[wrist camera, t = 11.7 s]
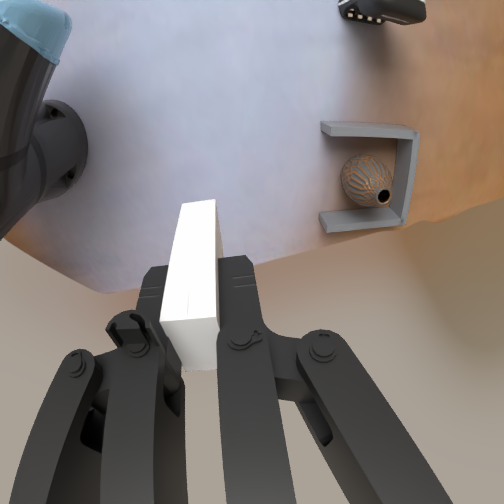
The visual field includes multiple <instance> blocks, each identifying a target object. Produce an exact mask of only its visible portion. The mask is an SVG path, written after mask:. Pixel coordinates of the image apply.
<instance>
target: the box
mask: <svg viewBox="0 0 504 504" xmlns="http://www.w3.org/2000/svg"><path fill="white" fill-rule="evenodd" d="M321 130H322V131H323V132H325V133H326V134H328V135H330V136H357V137H385V138H398V142H397V153H396V162H395V171H394V178H393V187H392V198H391V200H390V205H389V207H382V208H367V209H354V210H342V211H330V212H319V220H320V222H321V224H322V226H323V227H324V229H325V231H326V233H331V232H341V231H350V230H360V229H370V228H380V227H390V226H400V225H405V224H406V220H407V215H408V210H409V205H410V200H411V195H412V189H413V184H414V177H415V171H416V164H417V157H418V148H419V139H420V132H419V131H417V130H414V129H412V128H410V127H407V126H404V125H394V124H381V123H365V122H321Z"/></svg>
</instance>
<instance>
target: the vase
mask: <svg viewBox="0 0 504 504" xmlns="http://www.w3.org/2000/svg"><path fill="white" fill-rule="evenodd" d="M341 181H342V185H343V188H344V190H345V192H346V193H347V195H348V196H349V197H350V198H351V199H352V200H353V201H354V202H356V203H358V204H360V205H362V206H366V207H376V206H379V205H385V204H387V203H389V202H390V200H391V198H392V187H393V181H392V177H391V174H390V172H389V170H388V168H387V167H386V166H385V165H384V164H383V163H382V162H381V161H380V160H378V159H377V158H375V157H372V156H369V155H358V156H355V157H353V158H351V159H349V160H348V161H347V162H346V164H345V165H344V167H343V169H342V174H341Z"/></svg>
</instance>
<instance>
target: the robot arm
mask: <svg viewBox="0 0 504 504" xmlns="http://www.w3.org/2000/svg"><path fill="white" fill-rule="evenodd" d="M71 29H72V21H71V18H70V16H69V15H68V14H67V13H66V12H64V11H62V10H60V9H58V8H56V7H54V6H52V5H49V4H47V3H44V2H42V1H39V0H0V241H1V239H2V238H3V237H4V236H5V235H6V234H7V233H8V232H9V231H10V230H11V228H12V227H13V226H14V225H15V224H16V223H17V222H18V221H19V220H20V219H21V218H22V217H23V216H24V215H25V214H26V213H27V212H28V211H29V210H30V209H31V208H32V207H33V206H34V205H35V204H36V203H39V202H42V201H46V200H49V199H52V198H55V197H58V196H60V195H62V194H63V193H65V192H66V191H67V190H68V189H69V188H70V187H72V186H73V185H74V184H75V183H76V182H77V180H78V179H79V177H80V176H81V174H82V172H83V170H84V167H85V164H86V159H87V137H86V132H85V129H84V126H83V124H82V121H81V120H80V118H79V116H78V115H77V113H76V112H75V111H74V110H73V109H72V108H71V107H70V106H68V105H67V104H65V103H63V102H61V101H57V100H45V101H42V100H43V97H44V94H45V92H46V89H47V87H48V84H49V82H50V79H51V77H52V74H53V72H54V70H55V67H56V65H57V66H58V64H59V62H60V60H59V58H60V55H61V53H62V50H63V48H64V46H65V43H66V41H67V39H68V37H69V35H70V32H71ZM105 330H106V332H107V333H108V334H109V336H110V337H111V339H112V340H113V342H114V343H115V344H116V346H117V347H118V348H117V349H115V350H113V351H110V352H107V353H104V354H101V355H97V356H93V355H92V354H91V353H90V352H89V351H87V350H85V349H77V350H74V351H72V352H71V353H69V354H68V355H67V356H66V357H65V358H64V360H63V361H62V363H61V365H60V367H59V369H58V371H57V373H56V375H55V377H54V379H53V381H52V383H51V385H50V387H49V389H48V392H47V394H46V396H45V398H44V400H43V403H42V405H41V407H40V410H39V412H38V414H37V417H36V419H35V422H34V425H33V427H32V429H31V432H30V435H29V437H28V440H27V443H26V446H25V449H24V452H23V455H22V458H21V461H20V464H19V467H18V470H17V474H16V477H15V481H14V485H13V489H12V493H11V497H10V502H9V504H188V493H187V478H186V452H185V385H184V381H183V379H182V377H181V364H182V366H183V368H184V370H185V371H202V370H217V378H218V399H219V414H220V415H219V416H220V431H221V444H222V458H223V470H224V481H225V491H226V501H227V504H296V498H295V493H294V487H293V481H292V476H291V470H290V465H289V459H288V453H287V447H286V442H285V436H284V431H283V425H282V419H281V414H280V408H279V402H278V399H281V400H288V401H294V402H295V404H296V406H297V407H298V409H299V411H300V413H301V415H302V417H303V419H304V421H305V423H306V425H307V427H308V429H309V431H310V432H311V434H312V436H313V438H314V440H315V442H316V444H317V445H318V447H319V449H320V451H321V453H322V455H323V457H324V458H325V460H326V462H327V464H328V466H329V468H330V469H331V471H332V473H333V475H334V477H335V478H336V480H337V482H338V484H339V486H340V487H341V489H342V491H343V493H344V494H345V496H346V498H347V500H348V501H349V503H350V504H453V503H452V501H451V499H450V498H449V496H448V495H447V493H446V491H445V490H444V488H443V487H442V485H441V483H440V482H439V480H438V478H437V477H436V475H435V474H434V472H433V470H432V469H431V467H430V466H429V464H428V463H427V461H426V459H425V458H424V456H423V455H422V453H421V452H420V451H419V449H418V447H417V446H416V444H415V443H414V441H413V440H412V438H411V436H410V435H409V433H408V432H407V431H406V429H405V427H404V426H403V424H402V423H401V421H400V420H399V418H398V417H397V415H396V414H395V412H394V411H393V409H392V408H391V406H390V405H389V403H388V402H387V401H386V399H385V397H384V396H383V395H382V393H381V392H380V390H379V389H378V387H377V386H376V384H375V383H374V381H373V380H372V378H371V377H370V376H369V374H368V373H367V371H366V370H365V368H364V367H363V366H362V364H361V363H360V361H359V360H358V358H357V357H356V355H355V354H354V353H353V351H352V350H351V348H350V347H349V345H348V344H347V343H346V341H345V340H344V339H343V338H342V337H341V336H340V335H339V334H337V333H335V332H332V331H330V330H321V329H320V330H315V331H311V332H309V333H308V334H306V335H305V336H303V337H302V339H299V338H291V337H285V336H280V335H278V334H276V333H274V332H272V331H271V330H269V329H268V328H267V327H266V325H265V324H264V322H263V319H262V314H261V309H260V303H259V297H258V291H257V286H256V280H255V275H254V268H253V263H252V262H251V261H250V260H249V259H248V258H247V257H246V255H243V256H234V257H226V258H223V245H222V239H221V233H220V226H219V220H218V213H217V206H216V199H213V200H205V201H198V202H190V203H183V204H182V207H181V211H180V216H179V220H178V224H177V229H176V233H175V238H174V243H173V248H172V252H171V257H170V263H169V265H165V266H157V267H151V268H150V270H149V271H148V272H147V274H146V275H145V276H144V278H143V282H142V286H141V290H140V294H139V299H138V302H137V307H136V310H128V311H123V312H121V313H120V314H118V315H116V316H114V318H112V320H111V321H110V322H109V323H108V325H107V327H106V329H105Z"/></svg>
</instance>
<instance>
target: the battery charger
mask: <svg viewBox="0 0 504 504" xmlns="http://www.w3.org/2000/svg"><path fill="white" fill-rule="evenodd" d="M425 5H426V2H425V0H339V3H338V6H339V10H340V13H341V15H342V16H343V17H344V18H345V19H348V20H353V21H359V22H364V23H370V24H375V25H381V24H382V23H384V22H385V21H386V20H387V21H391V22H393V23H397V24H400V25H410V24H415V23H420V22H423V21H424V20H425V19H426V8H425Z"/></svg>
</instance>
